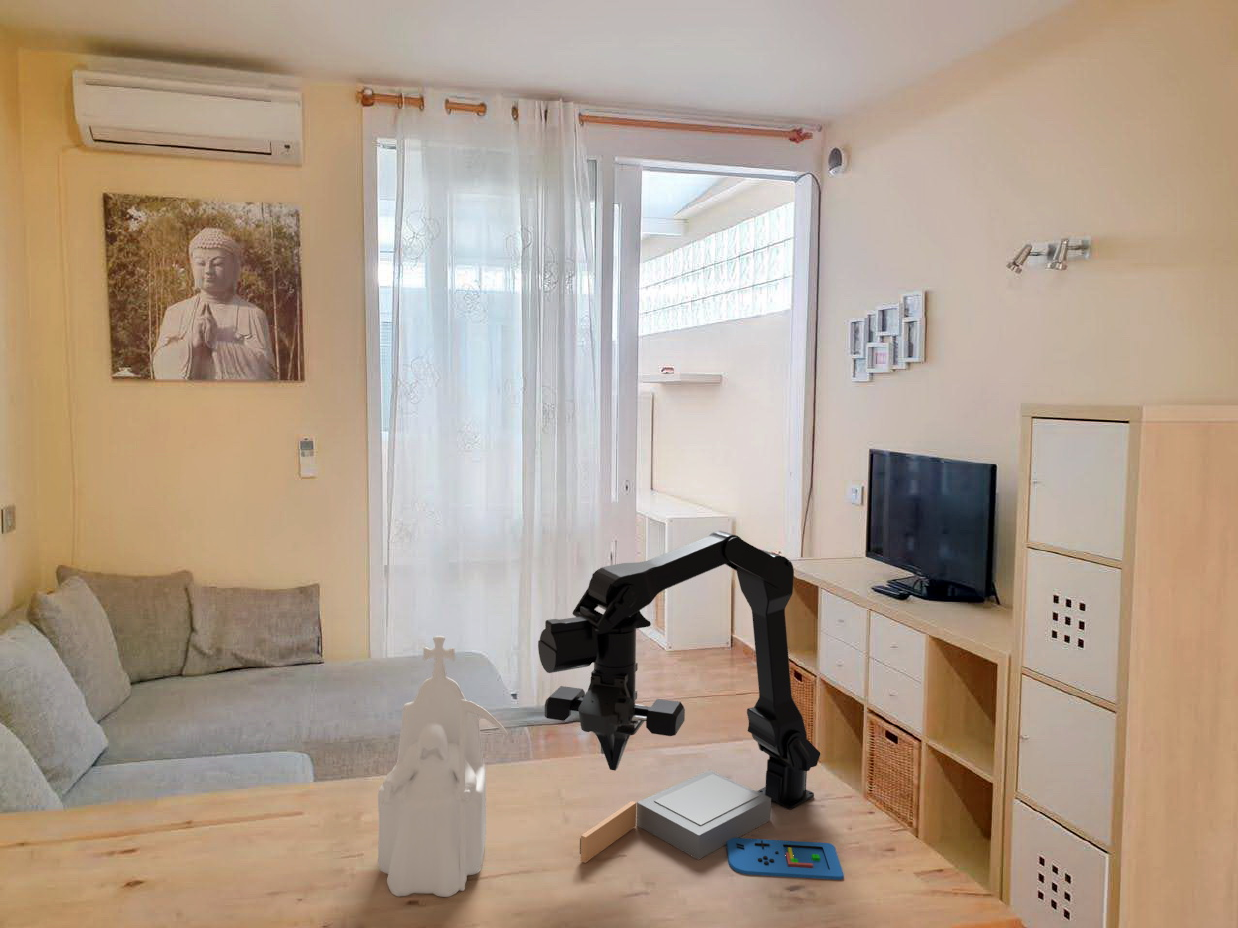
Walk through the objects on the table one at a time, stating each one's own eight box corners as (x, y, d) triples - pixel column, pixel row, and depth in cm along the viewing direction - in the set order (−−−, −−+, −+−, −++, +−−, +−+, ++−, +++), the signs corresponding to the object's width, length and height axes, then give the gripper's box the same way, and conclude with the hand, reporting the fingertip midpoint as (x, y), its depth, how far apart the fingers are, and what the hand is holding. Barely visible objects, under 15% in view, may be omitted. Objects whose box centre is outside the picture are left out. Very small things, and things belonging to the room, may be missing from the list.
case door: (635, 825, 128) (636, 802, 127) (585, 862, 118) (585, 837, 117) (629, 823, 128) (629, 799, 128) (578, 859, 119) (578, 834, 118)
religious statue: (367, 900, 109) (363, 668, 105) (394, 839, 123) (391, 631, 119) (506, 902, 110) (507, 670, 106) (517, 841, 123) (519, 634, 119)
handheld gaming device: (726, 834, 125) (833, 840, 124) (726, 842, 125) (833, 848, 124) (730, 867, 117) (845, 874, 116) (729, 875, 117) (844, 882, 116)
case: (708, 790, 139) (709, 768, 139) (770, 820, 131) (771, 796, 130) (636, 824, 128) (637, 801, 128) (698, 859, 120) (699, 834, 119)
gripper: (528, 671, 116) (528, 784, 118) (665, 689, 110) (663, 807, 112) (559, 646, 126) (559, 750, 128) (686, 660, 121) (684, 769, 122)
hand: (613, 768), depth 122 cm, fingers closed
